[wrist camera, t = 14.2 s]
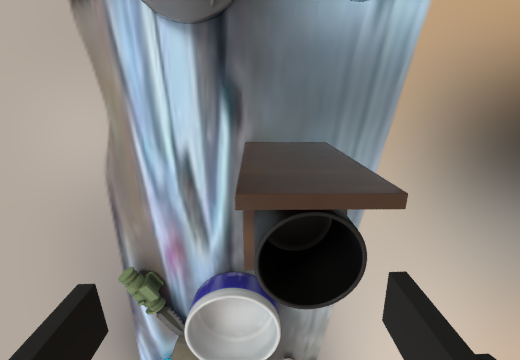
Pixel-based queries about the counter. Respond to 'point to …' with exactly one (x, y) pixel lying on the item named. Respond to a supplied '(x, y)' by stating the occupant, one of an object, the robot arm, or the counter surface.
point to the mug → (307, 256)
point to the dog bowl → (232, 320)
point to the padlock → (182, 351)
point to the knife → (151, 297)
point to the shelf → (305, 183)
